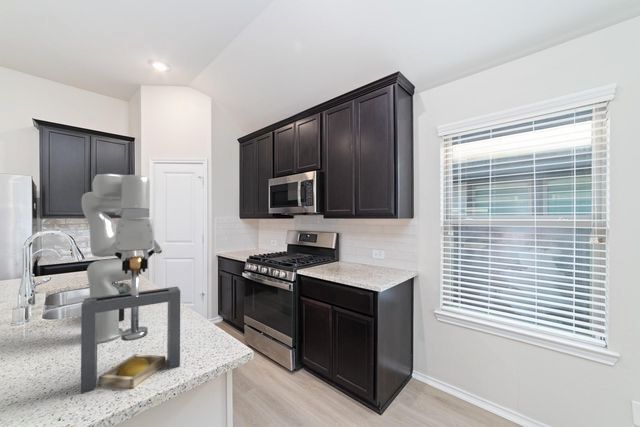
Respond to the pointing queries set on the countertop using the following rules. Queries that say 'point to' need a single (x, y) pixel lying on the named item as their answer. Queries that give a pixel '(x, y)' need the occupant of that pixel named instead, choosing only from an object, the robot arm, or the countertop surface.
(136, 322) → the plunger
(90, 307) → the frame
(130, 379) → the cradle
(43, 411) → the countertop surface
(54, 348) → the countertop surface
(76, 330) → the countertop surface
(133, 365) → the bread roll
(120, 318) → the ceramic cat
